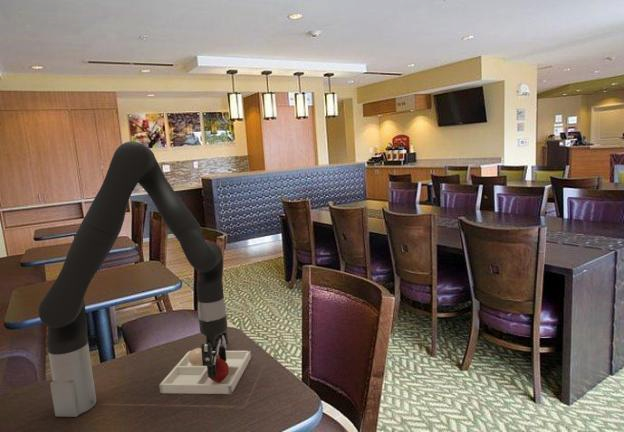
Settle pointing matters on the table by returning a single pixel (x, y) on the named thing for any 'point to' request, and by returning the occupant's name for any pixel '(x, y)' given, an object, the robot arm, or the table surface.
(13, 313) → the table surface
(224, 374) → the onion
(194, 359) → the beige ball
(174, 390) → the tray
